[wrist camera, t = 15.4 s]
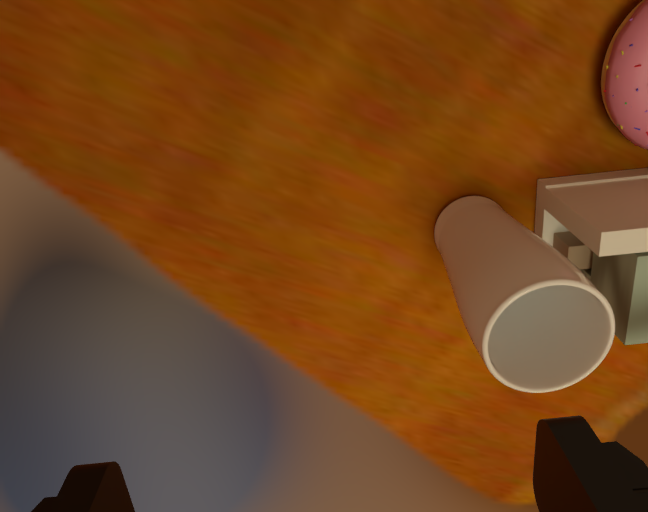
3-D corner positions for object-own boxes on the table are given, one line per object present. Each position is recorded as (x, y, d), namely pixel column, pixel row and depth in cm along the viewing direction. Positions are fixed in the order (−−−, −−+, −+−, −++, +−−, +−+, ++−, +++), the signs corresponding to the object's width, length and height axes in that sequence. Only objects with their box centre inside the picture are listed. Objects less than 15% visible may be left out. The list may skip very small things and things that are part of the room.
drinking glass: (523, 186, 40) (636, 283, 27) (503, 271, 43) (596, 398, 30) (430, 180, 40) (496, 274, 26) (415, 266, 43) (469, 392, 29)
